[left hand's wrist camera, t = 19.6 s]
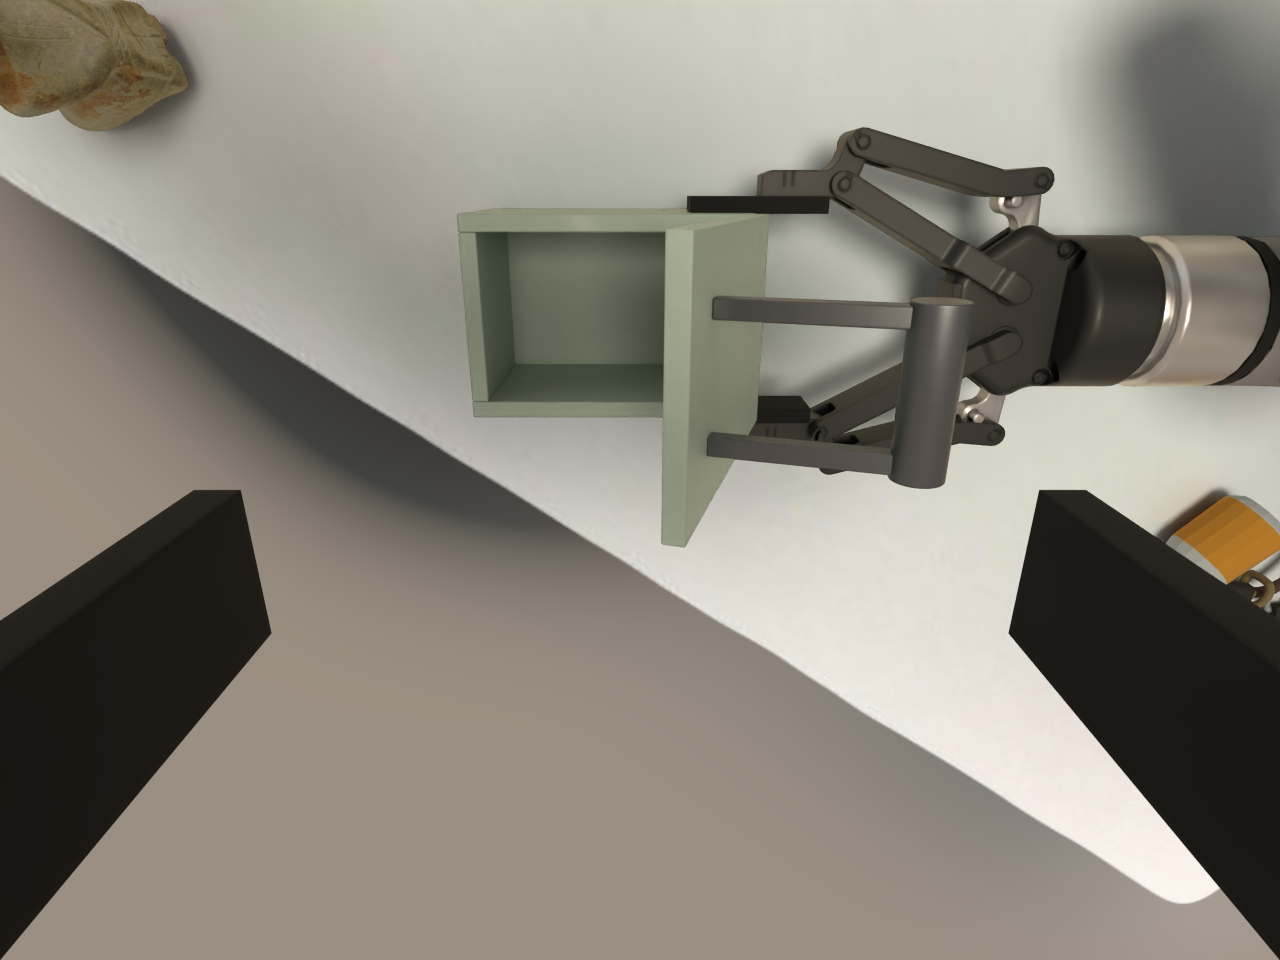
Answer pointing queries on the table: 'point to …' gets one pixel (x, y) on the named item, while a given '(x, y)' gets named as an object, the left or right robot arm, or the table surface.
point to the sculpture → (84, 61)
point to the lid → (730, 365)
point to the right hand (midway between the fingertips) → (686, 312)
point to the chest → (567, 309)
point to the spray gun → (1233, 545)
